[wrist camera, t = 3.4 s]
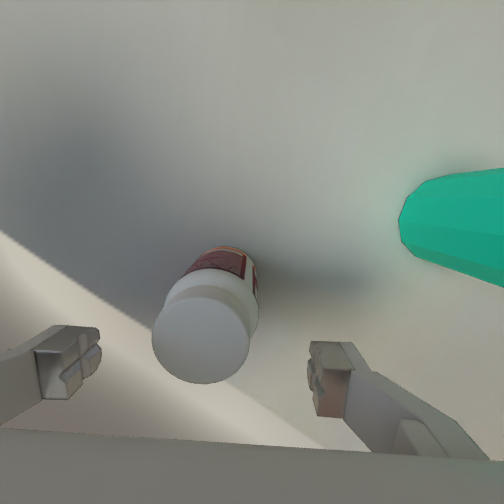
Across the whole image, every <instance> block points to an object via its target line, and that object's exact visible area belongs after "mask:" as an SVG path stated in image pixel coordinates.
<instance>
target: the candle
mask: <svg viewBox="0 0 504 504" xmlns="http://www.w3.org/2000/svg"><path fill="white" fill-rule="evenodd" d="M399 227H400V233H401V240H402V242H403V243H404V244H405V245H406V247H407V248H408V249H409V250H410V251H411V252H412V253H413V254H414V255H415V256H416V257H419V258H422V259H425V260H427V261H430V262H433V263H436V264H439V265H442V266H444V267H447V268H450V269H453V270H456V271H458V272H461V273H464V274H467V275H470V276H472V277H475V278H478V279H481V280H484V281H486V282H489V283H492V284H495V285H498V286H501V287H503V288H504V168H498V169H490V170H483V171H475V172H467V173H459V174H451V175H446V176H443V177H439V178H436V179H432V180H428V181H425V182H424V183H423V184H422V185H421V186H420V187H419V188H418V189H417V190H416V191H414V192H413V193H412V194H411V195H410V196H409V197H408V198H407V200H406V202H405V205H404V207H403V210H402V213H401V215H400V218H399Z"/></svg>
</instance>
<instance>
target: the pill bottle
mask: <svg viewBox="0 0 504 504" xmlns="http://www.w3.org/2000/svg"><path fill="white" fill-rule="evenodd" d="M258 318H259V307H258V286H257V272H256V269H255V266H254V264H253V262H252V261H251V259H250V258H249V257H248V256H247V255H246V254H245V253H244V252H242V251H240V250H238V249H236V248H233V247H227V246H221V247H216V248H213V249H210V250H208V251H207V252H205V253H204V254H203V255H201V256H200V258H199V259H198V260H197V261H196V262H195V263H194V264H193V265H192V266H191V267H190V268H189V269H188V270H187V271H186V273H185V274H184V275H183V276H182V277H181V278H180V279H179V280H178V281H177V282H176V283H175V284H174V285H173V287H172V288H171V290H170V291H169V293H168V296H167V298H166V301H165V305H164V309H163V310H162V312H161V313H160V314H159V316H158V317H157V319H156V321H155V324H154V326H153V330H152V346H153V350H154V353H155V355H156V357H157V359H158V361H159V362H160V364H161V365H162V366H163V367H164V368H165V369H166V370H167V371H168V372H169V373H170V374H172V375H174V376H175V377H177V378H178V379H181V380H183V381H186V382H190V383H195V384H210V383H216V382H219V381H222V380H225V379H227V378H228V377H230V376H232V375H233V374H234V373H236V372H237V371H238V370H239V369H240V367H241V366H242V365H243V363H244V361H245V360H246V357H247V355H248V352H249V346H250V338H251V337H252V335H253V333H254V331H255V329H256V327H257V323H258Z"/></svg>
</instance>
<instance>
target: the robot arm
mask: <svg viewBox="0 0 504 504" xmlns="http://www.w3.org/2000/svg"><path fill="white" fill-rule="evenodd" d="M99 339H100V334H99V330H98V329H97V328H93V327H81V326H68V325H54V326H51V327H50V328H48V329H47V330H45V331H43V332H42V333H40V334H38V335H37V336H35V337H34V338H32V339H30V340H29V341H27V342H25V343H24V344H22V345H20V346H19V347H17V348H16V349H8V350H6V351H2V352H0V425H2V424H3V423H5V422H7V421H8V420H10V419H12V418H13V417H15V416H17V415H18V414H20V413H22V412H24V411H25V410H27V409H29V408H30V407H32V406H34V405H35V404H37V403H39V402H40V401H42V399H52V400H53V399H55V400H68V399H69V398H70V397H71V396H72V395H73V394H74V393H75V392H76V391H77V390H78V389H79V388H80V387H81V386H82V384H83V379H85V378H87V377H89V376H91V375H92V374H93V373H94V372H95V371H96V370H97V368H98V366H99V364H100V362H101V357H102V352H101V348H100V347H99V345H98V344H97V342H98V341H99ZM309 352H310V355H311V359H310V360H309V361H308V366H307V378H308V384H309V388H310V390H311V391H313V403H314V406H315V410H316V413H317V416H322V417H332V418H343V420H344V421H345V422H346V424H347V425H348V426H349V427H350V428H351V429H352V430H353V431H354V432H355V434H356V435H357V436H358V437H359V438H360V439H361V440H362V441H363V442H364V443H365V445H366V446H367V447H368V448H369V449H370V450H371V451H372V452H358V451H343V450H326V449H310V448H296V447H281V446H266V445H251V444H236V443H222V442H221V443H220V442H206V441H192V440H176V439H161V438H144V437H130V436H114V435H99V434H84V433H69V432H53V431H39V430H24V429H8V428H0V504H504V461H494V460H490V459H489V458H488V457H487V455H486V454H485V453H484V452H483V451H482V450H481V449H480V448H479V446H478V445H477V444H476V443H475V442H474V441H473V440H472V439H471V437H470V436H469V435H468V434H467V433H466V432H465V431H464V430H463V428H462V427H461V426H460V425H459V424H458V423H457V422H456V421H455V420H453V419H451V418H450V417H448V416H447V415H445V414H443V413H442V412H440V411H439V410H437V409H435V408H434V407H432V406H431V405H429V404H427V403H426V402H424V401H423V400H421V399H419V398H418V397H416V396H415V395H413V394H411V393H410V392H408V391H406V390H405V389H403V388H402V387H400V386H398V385H397V384H395V383H394V382H392V381H390V380H389V379H387V378H386V377H384V376H382V375H381V374H379V373H378V372H372V371H371V369H370V368H369V366H368V365H367V363H366V362H365V360H364V359H363V357H362V356H361V354H360V353H359V351H358V350H357V348H356V347H355V345H354V344H353V343H352V342H327V341H311V343H310V348H309Z"/></svg>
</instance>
